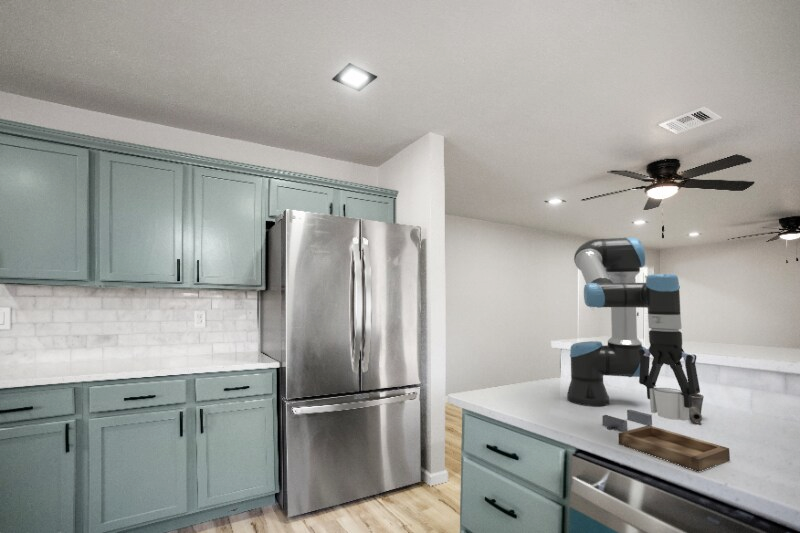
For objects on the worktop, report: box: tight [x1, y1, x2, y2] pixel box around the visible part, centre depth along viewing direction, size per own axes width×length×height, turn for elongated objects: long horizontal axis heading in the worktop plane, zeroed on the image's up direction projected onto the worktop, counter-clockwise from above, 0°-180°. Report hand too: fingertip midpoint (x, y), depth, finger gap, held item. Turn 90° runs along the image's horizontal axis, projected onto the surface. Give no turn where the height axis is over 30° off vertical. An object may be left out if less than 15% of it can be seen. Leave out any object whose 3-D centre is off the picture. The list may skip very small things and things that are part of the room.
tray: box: [617, 425, 731, 472], centre depth 104 cm, size 20×15×3 cm
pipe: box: [689, 393, 704, 424], centre depth 132 cm, size 6×13×8 cm, turn 150°
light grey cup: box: [654, 387, 682, 421], centre depth 105 cm, size 7×7×7 cm
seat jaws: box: [601, 409, 653, 432], centre depth 126 cm, size 7×19×3 cm, turn 117°
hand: (669, 415), depth 105 cm, fingers closed on light grey cup, 7 cm apart
